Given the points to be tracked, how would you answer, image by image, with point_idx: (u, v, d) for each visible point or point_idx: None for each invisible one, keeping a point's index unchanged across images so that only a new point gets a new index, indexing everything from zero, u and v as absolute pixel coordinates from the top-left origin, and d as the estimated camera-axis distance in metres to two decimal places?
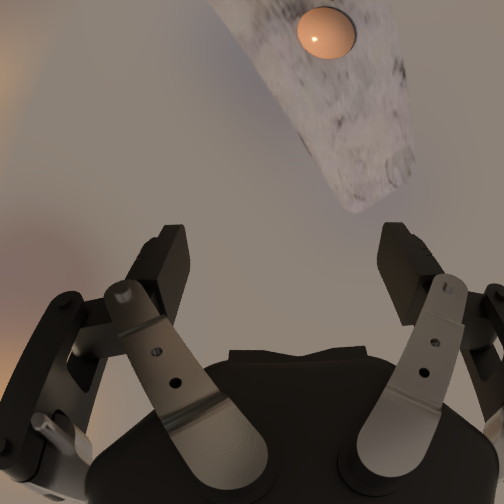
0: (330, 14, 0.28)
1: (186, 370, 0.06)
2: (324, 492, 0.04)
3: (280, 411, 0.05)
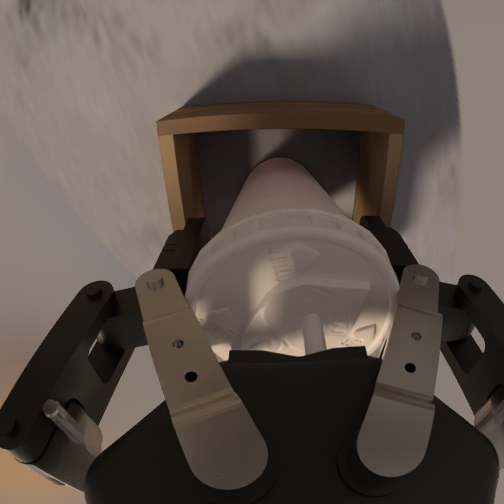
0: None
1: (203, 365, 0.06)
2: (324, 492, 0.04)
3: (280, 412, 0.05)
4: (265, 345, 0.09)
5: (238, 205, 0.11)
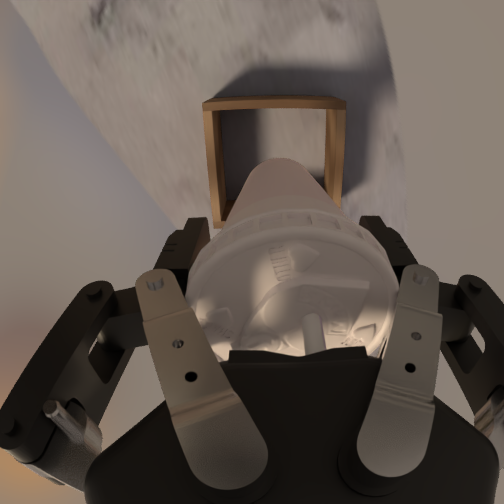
0: None
1: (203, 365, 0.06)
2: (324, 492, 0.04)
3: (280, 411, 0.05)
4: (265, 345, 0.09)
5: (238, 205, 0.11)
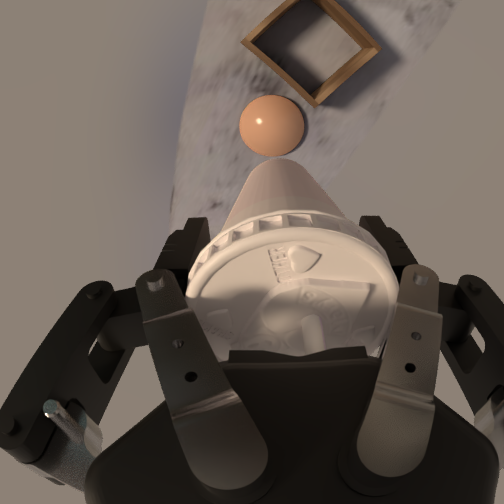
0: (292, 113, 0.31)
1: (203, 365, 0.06)
2: (324, 492, 0.04)
3: (280, 411, 0.05)
4: (265, 346, 0.09)
5: (238, 206, 0.11)
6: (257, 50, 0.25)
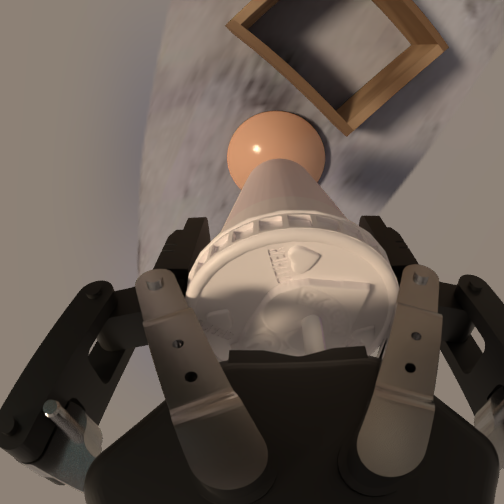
0: (307, 140, 0.21)
1: (203, 365, 0.06)
2: (324, 492, 0.04)
3: (280, 412, 0.05)
4: (265, 346, 0.09)
5: (238, 206, 0.11)
6: (253, 39, 0.14)
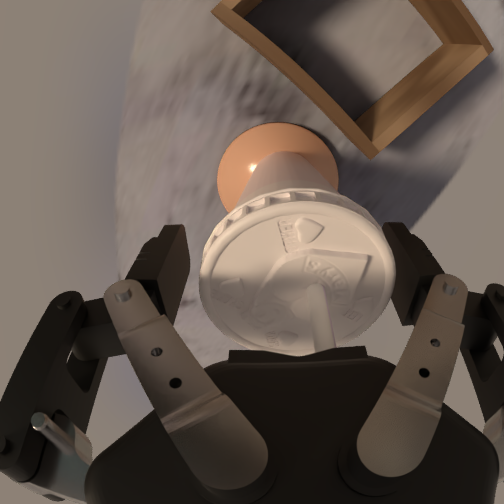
0: (317, 159, 0.17)
1: (186, 370, 0.06)
2: (324, 492, 0.04)
3: (281, 411, 0.05)
4: (273, 314, 0.10)
5: (248, 190, 0.12)
6: (249, 28, 0.10)
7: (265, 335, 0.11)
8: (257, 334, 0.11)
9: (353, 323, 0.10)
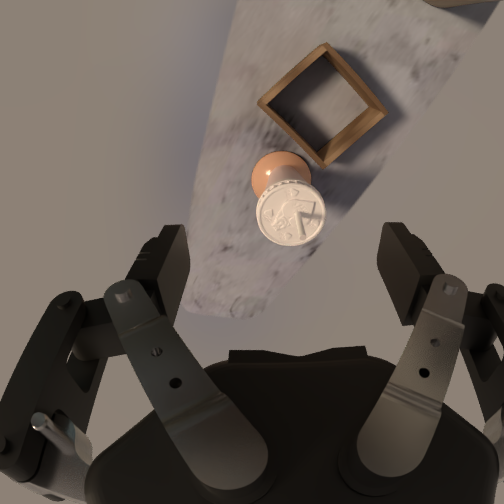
0: (300, 169, 0.35)
1: (186, 370, 0.06)
2: (324, 492, 0.04)
3: (281, 412, 0.05)
4: (282, 223, 0.28)
5: (271, 181, 0.30)
6: (272, 113, 0.29)
7: (279, 234, 0.29)
8: (276, 234, 0.29)
9: (312, 229, 0.29)
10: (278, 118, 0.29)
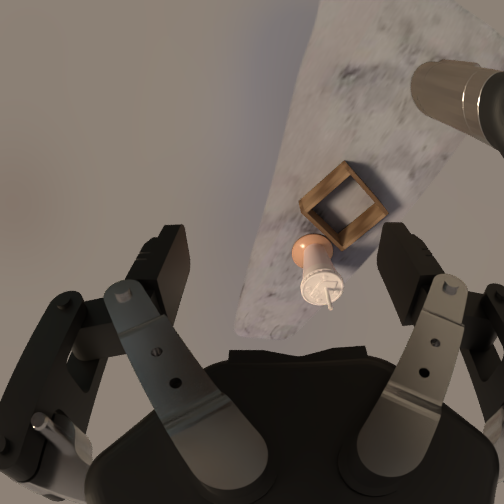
0: (326, 245, 0.52)
1: (186, 370, 0.06)
2: (324, 492, 0.04)
3: (280, 411, 0.05)
4: (317, 294, 0.45)
5: (309, 263, 0.47)
6: (311, 218, 0.45)
7: (314, 299, 0.46)
8: (312, 299, 0.46)
9: (334, 296, 0.45)
10: (314, 221, 0.46)
